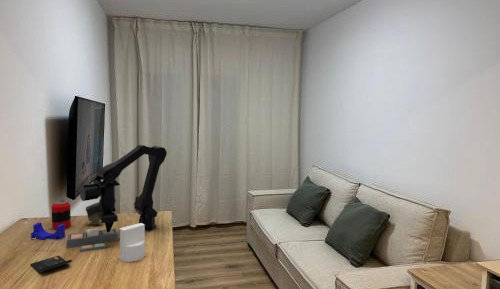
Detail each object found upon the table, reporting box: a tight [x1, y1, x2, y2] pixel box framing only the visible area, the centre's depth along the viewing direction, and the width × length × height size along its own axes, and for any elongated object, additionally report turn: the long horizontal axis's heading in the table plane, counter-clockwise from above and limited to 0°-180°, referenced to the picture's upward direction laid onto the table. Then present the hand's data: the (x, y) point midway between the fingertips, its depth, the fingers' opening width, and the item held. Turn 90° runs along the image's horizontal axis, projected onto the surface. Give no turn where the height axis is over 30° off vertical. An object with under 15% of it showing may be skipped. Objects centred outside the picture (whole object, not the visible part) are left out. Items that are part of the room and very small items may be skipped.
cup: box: [87, 212, 102, 226], centre depth 159 cm, size 8×7×8 cm
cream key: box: [86, 228, 99, 237], centre depth 140 cm, size 4×4×2 cm
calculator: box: [29, 254, 73, 274], centre depth 118 cm, size 9×12×3 cm
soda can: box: [50, 200, 72, 231], centre depth 154 cm, size 8×8×12 cm
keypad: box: [65, 228, 120, 249], centre depth 140 cm, size 20×8×3 cm, turn 117°
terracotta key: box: [71, 233, 83, 239], centre depth 137 cm, size 4×4×2 cm
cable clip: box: [30, 222, 66, 241], centre depth 141 cm, size 12×4×6 cm, turn 86°
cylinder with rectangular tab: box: [119, 222, 146, 263], centre depth 127 cm, size 9×9×12 cm
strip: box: [79, 242, 108, 253], centre depth 133 cm, size 10×3×1 cm, turn 117°
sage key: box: [102, 229, 114, 235], centre depth 143 cm, size 4×4×2 cm
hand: (108, 231), depth 143 cm, fingers closed, pressing on sage key
